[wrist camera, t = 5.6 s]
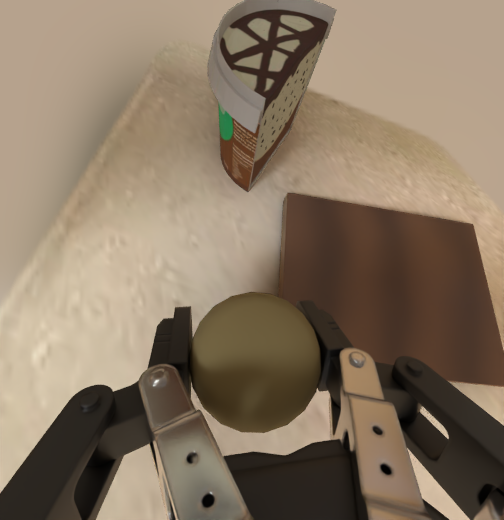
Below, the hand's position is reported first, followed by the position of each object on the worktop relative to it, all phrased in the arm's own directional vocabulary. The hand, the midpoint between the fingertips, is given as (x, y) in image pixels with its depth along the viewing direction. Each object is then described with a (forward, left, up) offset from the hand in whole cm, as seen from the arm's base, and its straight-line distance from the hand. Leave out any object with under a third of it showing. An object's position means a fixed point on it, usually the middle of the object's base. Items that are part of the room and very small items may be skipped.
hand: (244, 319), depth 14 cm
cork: (0, -2, -7) cm, 8 cm away
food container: (-1, +18, -7) cm, 20 cm away
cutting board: (+12, +5, -7) cm, 15 cm away
